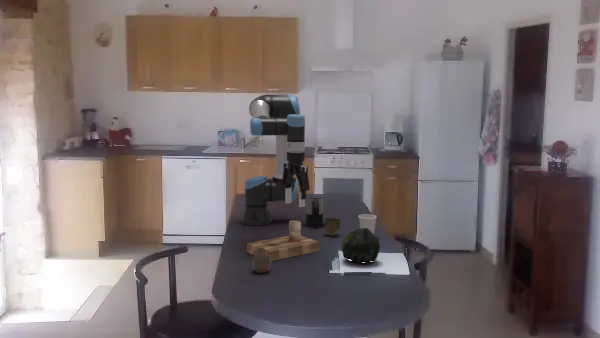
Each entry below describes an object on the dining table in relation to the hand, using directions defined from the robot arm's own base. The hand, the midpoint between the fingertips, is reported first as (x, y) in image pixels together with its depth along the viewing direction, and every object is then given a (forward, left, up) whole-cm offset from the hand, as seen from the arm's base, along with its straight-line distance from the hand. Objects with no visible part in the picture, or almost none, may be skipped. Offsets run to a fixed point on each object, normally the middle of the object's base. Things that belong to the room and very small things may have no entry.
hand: (295, 204), depth 265 cm
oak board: (0, -6, -19) cm, 20 cm away
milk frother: (-27, +38, -20) cm, 51 cm away
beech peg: (0, 0, -19) cm, 19 cm away
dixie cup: (+3, +40, -20) cm, 45 cm away
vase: (+17, -29, -20) cm, 39 cm away
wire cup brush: (-9, +29, -20) cm, 36 cm away
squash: (+30, +10, -20) cm, 37 cm away
